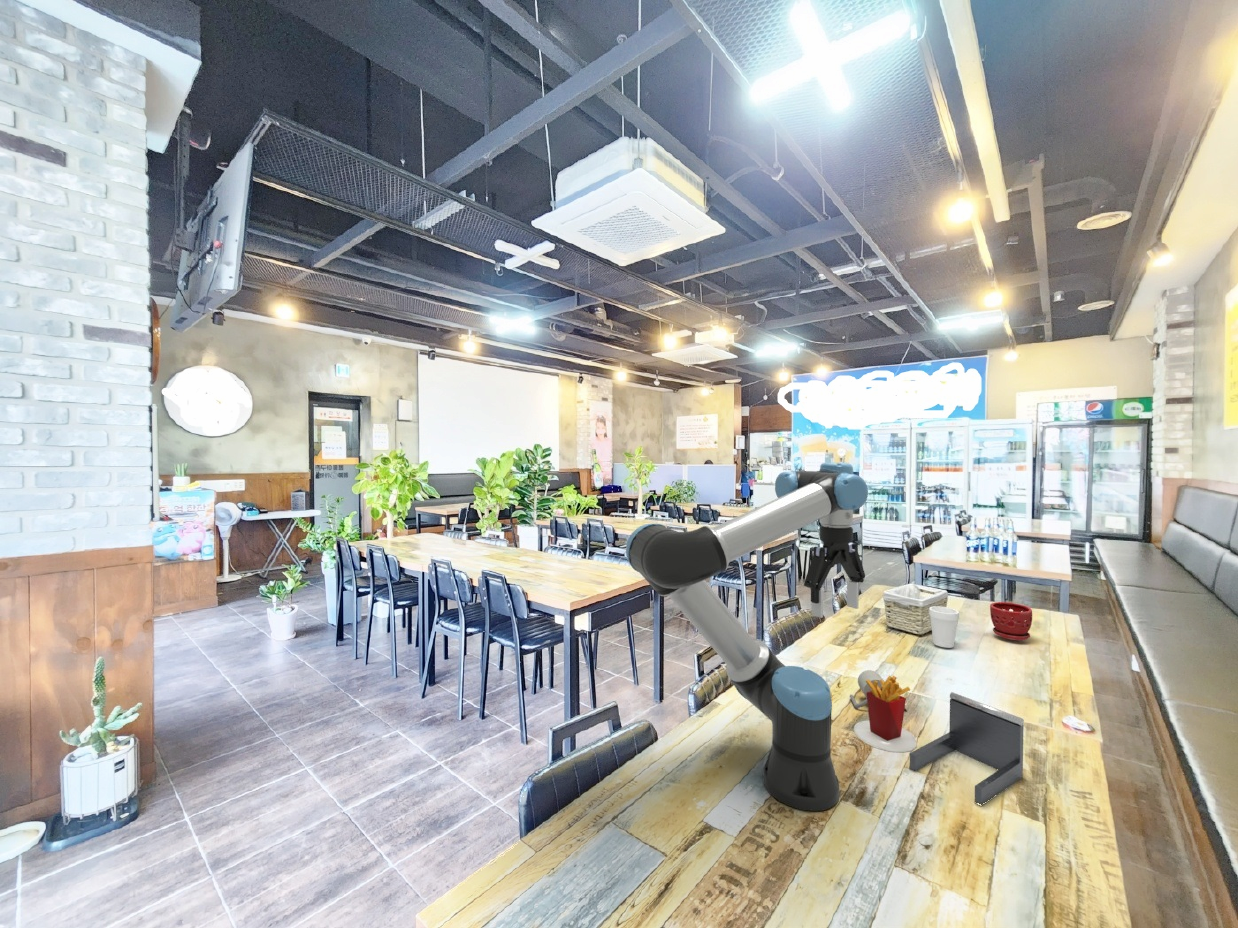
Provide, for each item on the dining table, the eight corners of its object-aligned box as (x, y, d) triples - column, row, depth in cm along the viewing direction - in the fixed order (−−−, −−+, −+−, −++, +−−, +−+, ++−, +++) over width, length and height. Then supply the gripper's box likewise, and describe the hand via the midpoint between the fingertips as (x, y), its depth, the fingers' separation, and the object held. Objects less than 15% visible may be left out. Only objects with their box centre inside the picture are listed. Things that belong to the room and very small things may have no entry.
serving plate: (895, 760, 119) (895, 757, 119) (842, 732, 131) (842, 729, 131) (928, 743, 126) (928, 739, 126) (875, 717, 138) (875, 715, 138)
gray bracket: (981, 808, 103) (982, 741, 103) (909, 770, 115) (910, 710, 115) (1022, 778, 112) (1023, 717, 112) (952, 746, 125) (953, 691, 124)
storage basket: (921, 637, 200) (922, 599, 199) (880, 625, 213) (881, 590, 213) (949, 625, 213) (950, 590, 213) (909, 615, 226) (909, 582, 226)
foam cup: (958, 643, 193) (958, 608, 193) (958, 651, 185) (959, 615, 185) (929, 638, 198) (929, 604, 198) (928, 645, 190) (928, 611, 190)
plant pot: (989, 628, 209) (990, 599, 209) (1030, 635, 201) (1031, 605, 201) (989, 637, 199) (990, 607, 198) (1033, 645, 191) (1033, 613, 191)
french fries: (864, 730, 130) (865, 672, 130) (886, 723, 134) (887, 666, 134) (896, 748, 123) (896, 686, 122) (918, 740, 126) (919, 680, 126)
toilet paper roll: (910, 715, 139) (881, 678, 141) (877, 736, 141) (848, 699, 142) (897, 698, 149) (871, 663, 151) (866, 717, 151) (840, 683, 153)
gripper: (815, 531, 116) (814, 624, 116) (881, 523, 128) (880, 607, 129) (789, 527, 122) (788, 615, 122) (853, 520, 135) (853, 600, 135)
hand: (835, 611), depth 126 cm, fingers open, 13 cm apart
